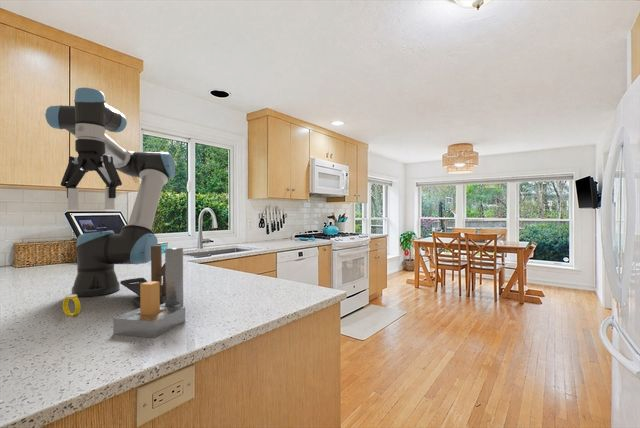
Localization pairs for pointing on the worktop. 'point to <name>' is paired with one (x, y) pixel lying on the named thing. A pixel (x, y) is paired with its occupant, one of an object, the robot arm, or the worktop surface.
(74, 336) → the worktop surface
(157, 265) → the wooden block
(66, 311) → the watch
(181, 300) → the grey l-shaped piece
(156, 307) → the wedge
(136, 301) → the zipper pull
